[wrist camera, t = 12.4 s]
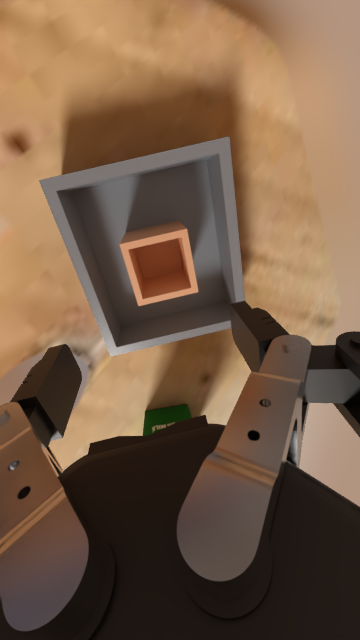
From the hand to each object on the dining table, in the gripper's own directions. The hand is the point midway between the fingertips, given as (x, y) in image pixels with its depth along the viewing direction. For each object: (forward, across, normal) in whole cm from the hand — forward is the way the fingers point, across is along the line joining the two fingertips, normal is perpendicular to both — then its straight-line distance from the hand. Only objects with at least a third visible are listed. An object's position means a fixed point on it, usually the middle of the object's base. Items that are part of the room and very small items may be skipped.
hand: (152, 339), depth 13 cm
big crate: (+20, -1, 0) cm, 20 cm away
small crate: (+19, -1, 0) cm, 19 cm away
